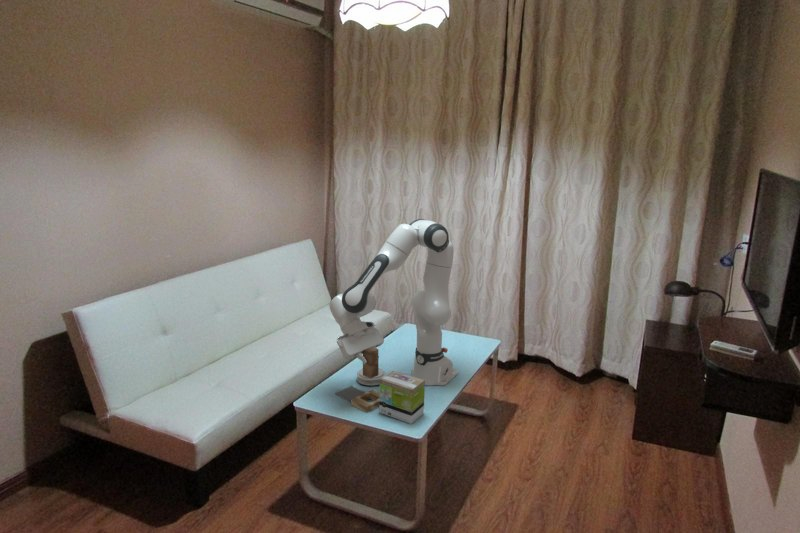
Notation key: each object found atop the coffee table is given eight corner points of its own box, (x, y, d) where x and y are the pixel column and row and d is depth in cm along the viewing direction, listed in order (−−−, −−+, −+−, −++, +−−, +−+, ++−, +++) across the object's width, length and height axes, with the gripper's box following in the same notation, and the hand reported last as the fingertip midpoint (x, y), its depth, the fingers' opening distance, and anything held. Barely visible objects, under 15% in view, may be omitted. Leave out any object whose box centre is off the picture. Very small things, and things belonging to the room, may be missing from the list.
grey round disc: (389, 377, 234) (390, 367, 233) (378, 389, 223) (378, 378, 222) (364, 372, 239) (364, 362, 238) (351, 384, 227) (351, 373, 226)
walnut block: (370, 371, 211) (370, 346, 208) (378, 375, 208) (378, 349, 205) (362, 375, 207) (362, 349, 205) (370, 378, 205) (370, 352, 202)
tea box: (378, 413, 203) (378, 378, 199) (392, 403, 211) (392, 369, 208) (411, 425, 195) (412, 388, 192) (424, 413, 204) (425, 378, 200)
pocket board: (372, 394, 218) (372, 389, 217) (388, 402, 212) (388, 396, 211) (351, 404, 209) (351, 399, 208) (367, 412, 203) (367, 407, 203)
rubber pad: (351, 387, 224) (351, 385, 224) (365, 394, 218) (365, 392, 218) (335, 394, 218) (335, 392, 217) (350, 401, 212) (350, 400, 212)
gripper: (338, 334, 200) (356, 365, 196) (376, 321, 215) (393, 349, 211) (331, 342, 204) (348, 372, 200) (368, 328, 219) (385, 356, 215)
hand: (371, 360), depth 206 cm, fingers closed on walnut block, 4 cm apart
